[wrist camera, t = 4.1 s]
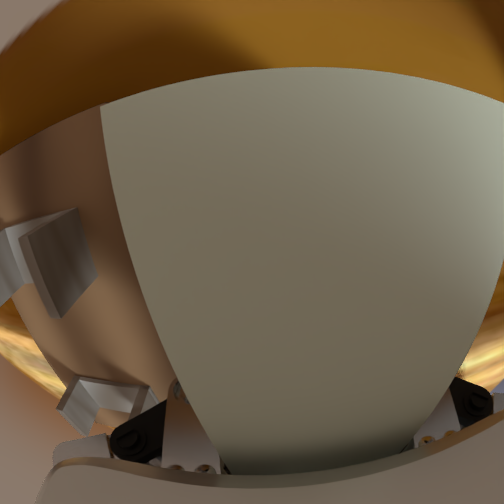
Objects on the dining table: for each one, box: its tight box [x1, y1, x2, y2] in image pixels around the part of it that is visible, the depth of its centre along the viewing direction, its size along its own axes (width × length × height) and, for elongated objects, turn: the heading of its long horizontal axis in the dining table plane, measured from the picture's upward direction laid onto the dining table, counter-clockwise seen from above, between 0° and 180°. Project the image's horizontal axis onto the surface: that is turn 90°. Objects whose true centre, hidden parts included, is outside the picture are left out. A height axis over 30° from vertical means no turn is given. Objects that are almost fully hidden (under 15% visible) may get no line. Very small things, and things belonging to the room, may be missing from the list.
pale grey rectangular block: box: [100, 67, 504, 475], centre depth 8 cm, size 4×14×8 cm, turn 6°
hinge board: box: [0, 102, 177, 437], centre depth 11 cm, size 10×20×5 cm, turn 6°
